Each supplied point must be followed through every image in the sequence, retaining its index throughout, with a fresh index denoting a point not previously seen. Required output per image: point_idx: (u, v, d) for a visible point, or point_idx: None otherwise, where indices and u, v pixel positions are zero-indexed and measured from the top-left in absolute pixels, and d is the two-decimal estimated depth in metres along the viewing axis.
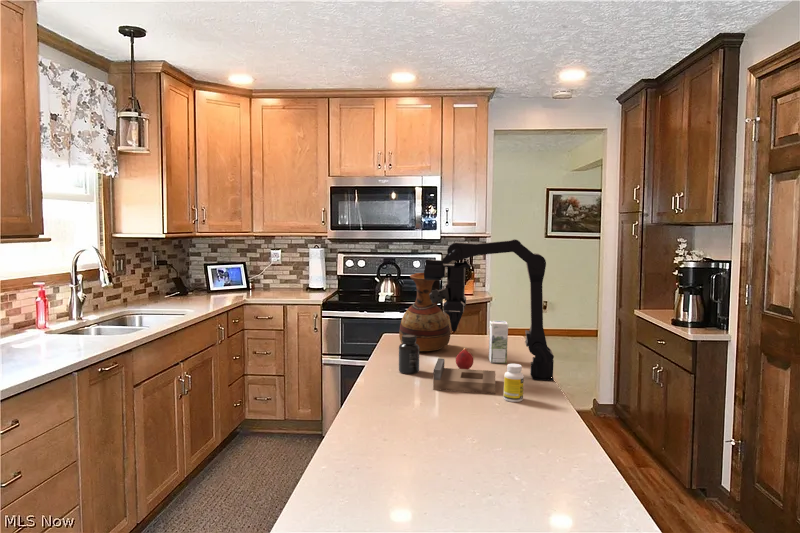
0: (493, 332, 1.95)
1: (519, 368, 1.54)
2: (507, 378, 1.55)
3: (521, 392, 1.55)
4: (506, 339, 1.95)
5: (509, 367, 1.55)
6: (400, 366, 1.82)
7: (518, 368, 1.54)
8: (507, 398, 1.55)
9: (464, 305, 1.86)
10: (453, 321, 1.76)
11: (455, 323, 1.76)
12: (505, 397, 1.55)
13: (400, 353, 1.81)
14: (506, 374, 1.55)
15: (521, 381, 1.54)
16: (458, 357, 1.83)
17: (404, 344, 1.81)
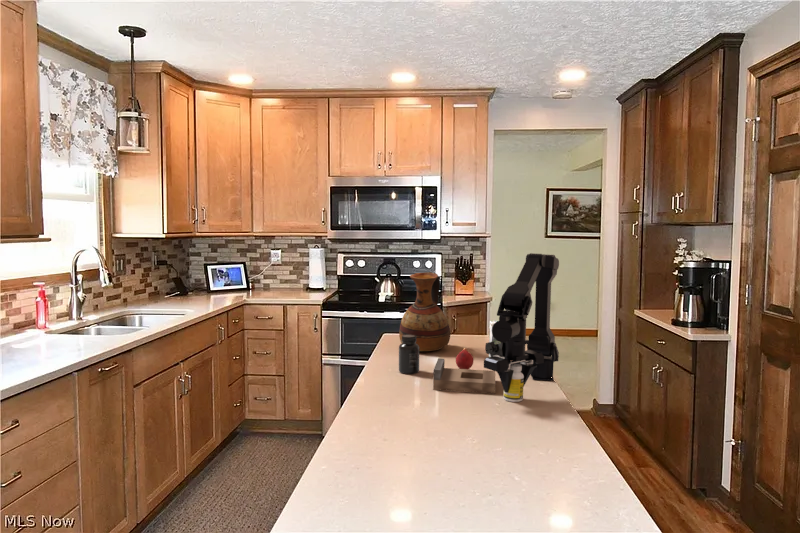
0: None
1: (519, 368, 1.54)
2: None
3: (521, 392, 1.55)
4: None
5: None
6: (400, 366, 1.82)
7: (518, 368, 1.54)
8: (507, 398, 1.55)
9: (530, 366, 1.56)
10: (503, 380, 1.54)
11: (505, 383, 1.54)
12: (505, 397, 1.55)
13: (400, 353, 1.81)
14: None
15: (521, 381, 1.54)
16: (458, 357, 1.83)
17: (404, 344, 1.81)
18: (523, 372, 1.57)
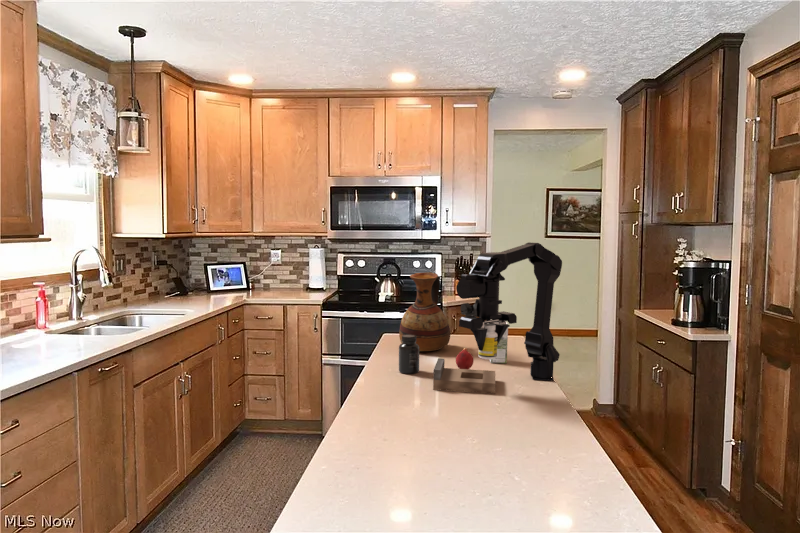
0: None
1: (493, 327, 1.61)
2: None
3: (495, 350, 1.62)
4: (506, 339, 1.95)
5: None
6: (400, 366, 1.82)
7: (492, 327, 1.61)
8: (482, 356, 1.62)
9: (503, 325, 1.63)
10: (477, 339, 1.61)
11: (479, 341, 1.61)
12: (480, 355, 1.62)
13: (400, 353, 1.81)
14: None
15: (495, 339, 1.61)
16: (458, 357, 1.83)
17: (404, 344, 1.81)
18: (497, 331, 1.65)
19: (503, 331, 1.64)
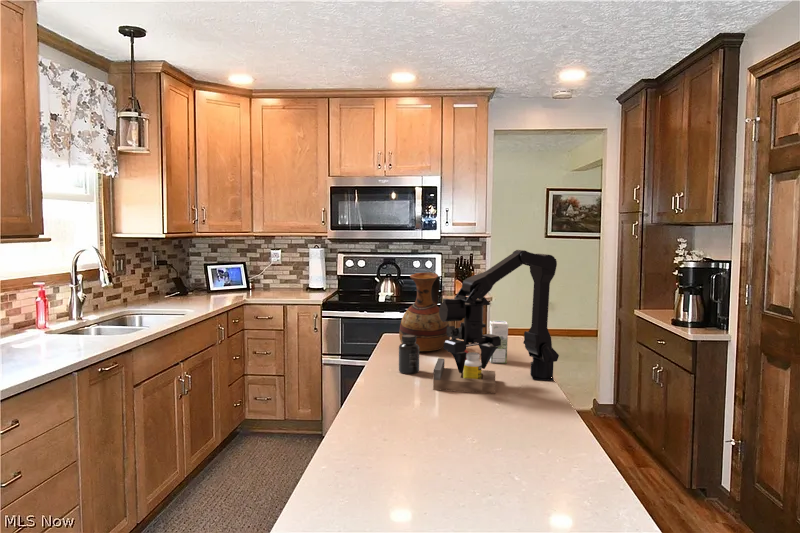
0: (493, 332, 1.95)
1: (477, 356, 1.67)
2: (466, 365, 1.67)
3: (479, 378, 1.67)
4: (506, 339, 1.95)
5: (467, 355, 1.68)
6: (400, 366, 1.82)
7: (476, 356, 1.67)
8: None
9: (491, 347, 1.69)
10: (457, 362, 1.66)
11: (459, 364, 1.65)
12: None
13: (400, 353, 1.81)
14: (465, 362, 1.68)
15: (479, 368, 1.67)
16: None
17: (404, 344, 1.81)
18: (485, 353, 1.71)
19: (491, 353, 1.70)
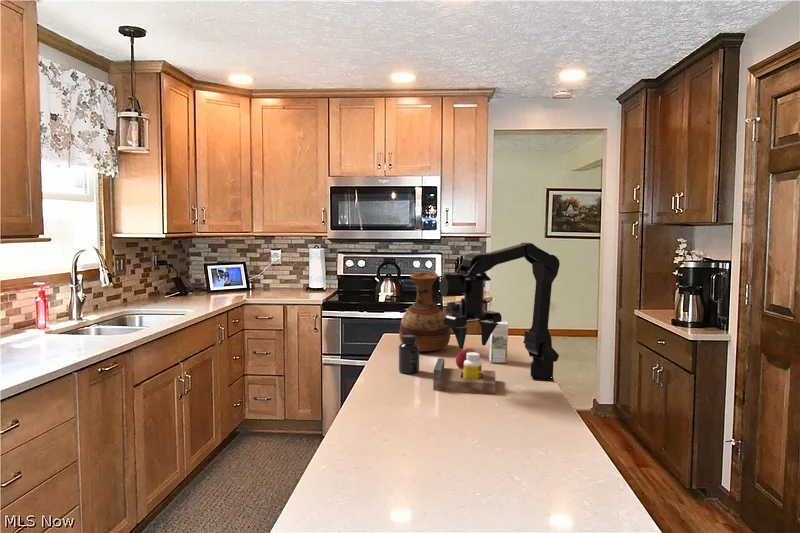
0: (493, 332, 1.95)
1: (477, 356, 1.67)
2: (466, 365, 1.67)
3: (479, 378, 1.67)
4: (506, 339, 1.95)
5: (467, 355, 1.68)
6: (400, 366, 1.82)
7: (476, 356, 1.67)
8: None
9: (492, 324, 1.69)
10: (458, 337, 1.65)
11: (460, 340, 1.65)
12: None
13: (400, 353, 1.81)
14: (465, 362, 1.68)
15: (479, 368, 1.67)
16: (458, 357, 1.83)
17: (404, 344, 1.81)
18: (486, 329, 1.70)
19: (492, 329, 1.69)
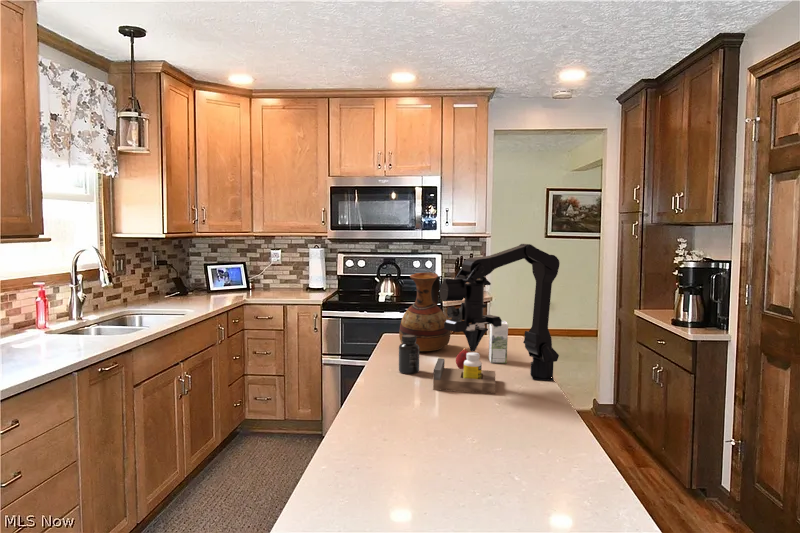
0: (493, 332, 1.95)
1: (477, 356, 1.67)
2: (466, 365, 1.67)
3: (479, 378, 1.67)
4: (506, 339, 1.95)
5: (467, 355, 1.68)
6: (400, 366, 1.82)
7: (476, 356, 1.67)
8: None
9: (481, 329, 1.66)
10: (469, 340, 1.68)
11: (471, 343, 1.67)
12: None
13: (400, 353, 1.81)
14: (465, 362, 1.68)
15: (479, 368, 1.67)
16: (458, 357, 1.83)
17: (404, 344, 1.81)
18: None
19: (481, 335, 1.67)
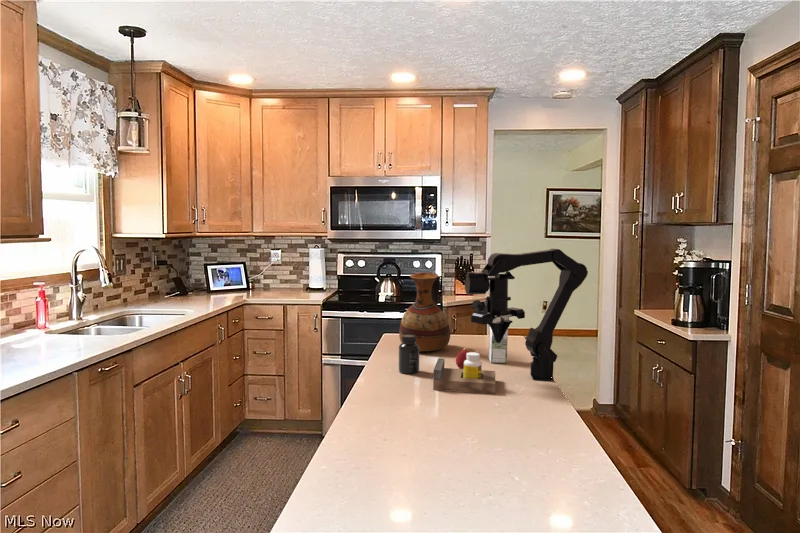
0: None
1: (477, 356, 1.67)
2: (466, 365, 1.67)
3: (479, 378, 1.67)
4: (506, 339, 1.95)
5: (467, 355, 1.68)
6: (400, 366, 1.82)
7: (476, 356, 1.67)
8: None
9: (506, 321, 1.73)
10: (495, 332, 1.74)
11: (496, 334, 1.74)
12: None
13: (400, 353, 1.81)
14: (465, 362, 1.68)
15: (479, 368, 1.67)
16: (458, 357, 1.83)
17: (404, 344, 1.81)
18: None
19: (506, 327, 1.74)
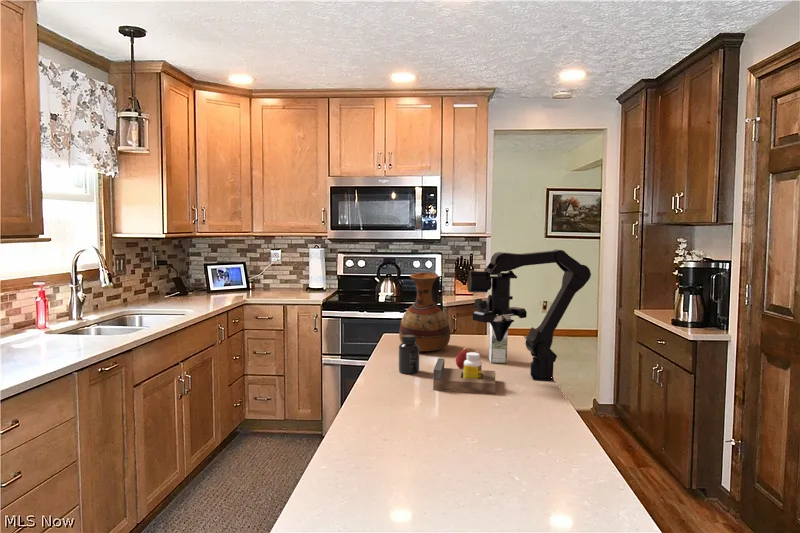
0: (493, 332, 1.95)
1: (477, 356, 1.67)
2: (466, 365, 1.67)
3: (479, 378, 1.67)
4: (506, 339, 1.95)
5: (467, 355, 1.68)
6: (400, 366, 1.82)
7: (476, 356, 1.67)
8: None
9: (508, 320, 1.74)
10: (496, 331, 1.75)
11: (498, 333, 1.75)
12: None
13: (400, 353, 1.81)
14: (465, 362, 1.68)
15: (479, 368, 1.67)
16: (458, 357, 1.83)
17: (404, 344, 1.81)
18: None
19: (508, 326, 1.74)
